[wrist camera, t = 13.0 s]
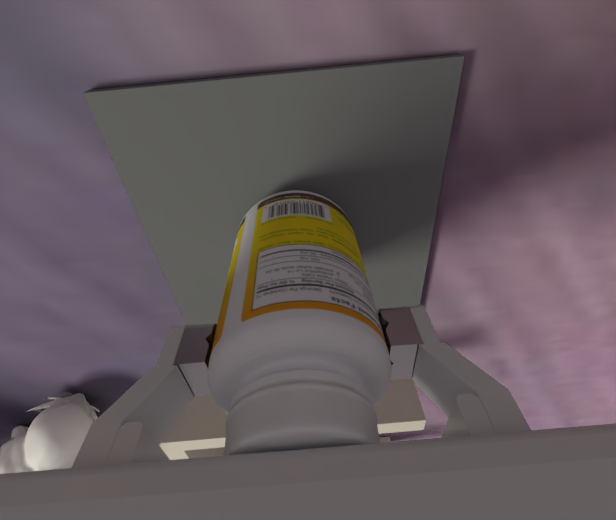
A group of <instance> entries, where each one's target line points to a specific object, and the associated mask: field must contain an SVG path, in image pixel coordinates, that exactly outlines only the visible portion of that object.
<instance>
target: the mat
mask: <svg viewBox="0 0 616 520" xmlns="http://www.w3.org/2000/svg"><path fill="white" fill-rule="evenodd" d="M464 57H465V56H463V55H460V54H456V55H446V56H435V57H425V58H415V59H404V60H394V61H384V62H373V63H363V64H353V65H342V66H332V67H322V68H311V69H301V70H291V71H280V72H270V73H260V74H249V75H239V76H229V77H219V78H208V79H198V80H188V81H177V82H167V83H157V84H146V85H136V86H126V87H115V88H105V89H95V90H88V91H86V92H84V93H83V95H84V97H85V99H86V101H87V104H88V106H89V108H90V110H91V112H92V115H93V117H94V119H95V121H96V124H97V126H98V128H99V130H100V133H101V135H102V137H103V139H104V141H105V144H106V146H107V148H108V150H109V153H110V155H111V157H112V159H113V161H114V164H115V166H116V168H117V170H118V173H119V175H120V177H121V179H122V182H123V184H124V186H125V188H126V190H127V193H128V195H129V197H130V199H131V202H132V204H133V206H134V208H135V210H136V213H137V215H138V217H139V219H140V222H141V224H142V226H143V228H144V231H145V233H146V235H147V237H148V239H149V242H150V244H151V246H152V248H153V251H154V253H155V255H156V257H157V259H158V262H159V264H160V266H161V268H162V271H163V273H164V275H165V277H166V279H167V282H168V284H169V286H170V288H171V291H172V293H173V295H174V297H175V300H176V302H177V304H178V306H179V308H180V311H181V313H182V315H183V317H184V320H185V322H186V324H187V325H200V324H217V323H218V319H219V314H220V309H221V305H222V300H223V296H224V291H225V287H226V282H227V278H228V273H229V269H230V264H231V260H232V255H233V251H234V246H235V241H236V236H237V232H238V229H239V226H240V223H241V221H242V219H243V218H244V216H245V215H246V213H247V212H248V211H249V210H250V209H251V208H252V207H253V206H254V205H255V204H256V203H258V202H259V201H261V200H262V199H264V198H266V197H268V196H270V195H273V194H276V193H279V192H284V191H291V190H301V191H309V192H313V193H316V194H319V195H322V196H324V197H326V198H328V199H330V200H331V201H333V202H334V203H335V204H337V205H338V206H339V207H340V208H341V209H342V210H343V211H344V212H345V214H346V215H347V217H348V218H349V220H350V222H351V225H352V227H353V230H354V233H355V236H356V240H357V244H358V247H359V250H360V254H361V258H362V261H363V265H364V268H365V271H366V275H367V279H368V282H369V286H370V289H371V293H372V296H373V300H374V303H375V307H376V310H377V314H378V310H379V309H384V308H394V307H404V306H407V307H408V306H416V305H420V301H421V296H422V290H423V284H424V279H425V273H426V268H427V262H428V257H429V251H430V246H431V240H432V234H433V229H434V223H435V218H436V212H437V207H438V201H439V196H440V190H441V185H442V179H443V173H444V168H445V162H446V157H447V151H448V146H449V140H450V135H451V129H452V124H453V118H454V112H455V107H456V101H457V96H458V90H459V85H460V79H461V74H462V68H463V63H464Z"/></svg>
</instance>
